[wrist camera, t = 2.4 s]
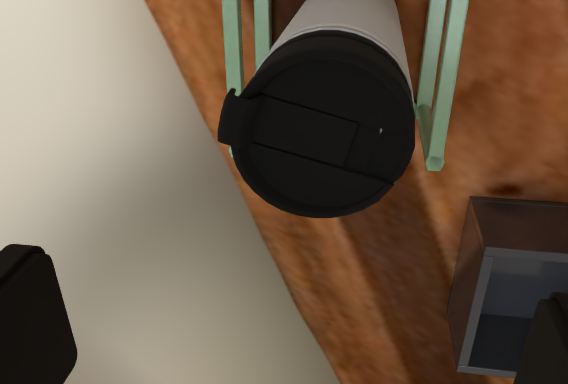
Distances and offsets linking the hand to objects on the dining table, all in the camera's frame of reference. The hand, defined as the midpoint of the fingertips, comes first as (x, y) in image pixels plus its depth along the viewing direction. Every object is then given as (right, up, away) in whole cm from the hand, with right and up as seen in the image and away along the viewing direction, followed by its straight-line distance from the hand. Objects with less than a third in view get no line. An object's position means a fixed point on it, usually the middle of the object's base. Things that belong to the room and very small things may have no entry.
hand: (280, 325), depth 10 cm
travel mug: (+4, +14, +24) cm, 28 cm away
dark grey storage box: (+19, -3, +31) cm, 36 cm away
